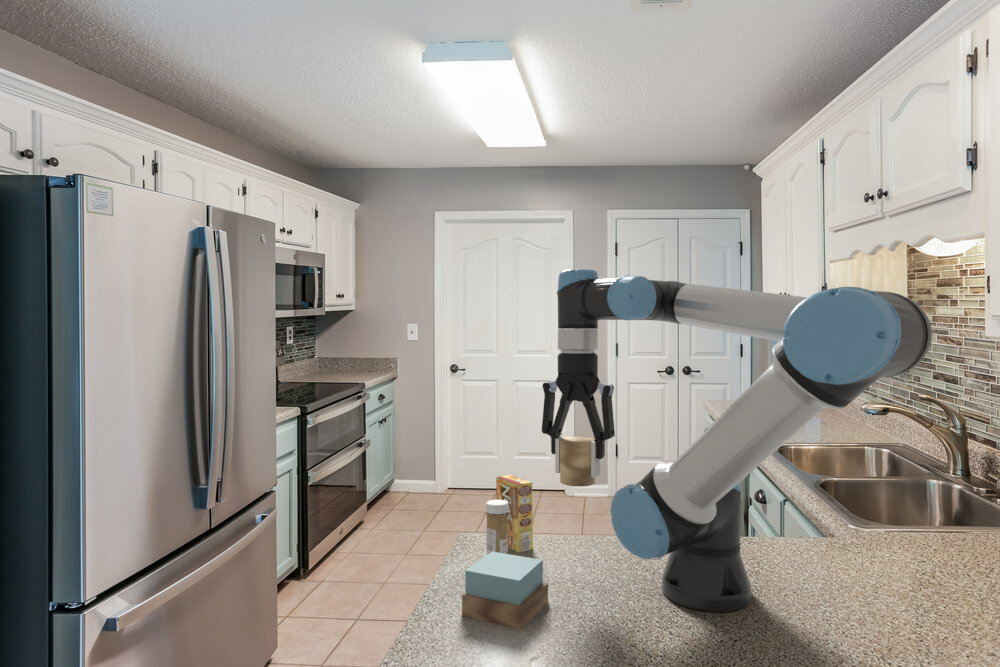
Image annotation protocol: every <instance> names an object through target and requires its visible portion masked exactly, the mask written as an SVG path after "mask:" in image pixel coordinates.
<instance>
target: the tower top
mask: <svg viewBox="0 0 1000 667" xmlns="http://www.w3.org/2000/svg"><path fill="white" fill-rule="evenodd" d="M543 563H544V561H543V559H540V558H533V557H528V556H527V557H526V556H521V555H516V554H515V555H514V554H509V553H508V554H504V553H498V552H491V553H489V554H488V555H487V554H486V555H485V556H484V557H482V558H481V559H479V560H478V561H476V562H475V563H474V564H472V565H471V566H470V567H468V568H467V569H466V570H465V571H464V572H465V592H466V594H468V595H472V596H477V597H482V598H487V599H492V600H496V601H501V602H506V603H511V604H516V605H520V604H521V603H523V602H524V601H525V600H526V599H527V598H528V597H529V596H530V595H531V594H532V593H533V592H534V591H535V590H536V589H537V588H538V587H539V586H540V585H541V584H542V583H543V582H544V578H543V575H544V574H543V573H544V572H543V571H544V570H543V569H544V568H543V565H544V564H543Z"/></svg>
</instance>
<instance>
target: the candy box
mask: <svg viewBox="0 0 1000 667" xmlns="http://www.w3.org/2000/svg"><path fill="white" fill-rule="evenodd" d="M495 483H496V484H495V485H496V488H495V489H496V492H495V493H496V500H505V501H507V502H508V514H507V522H508V524H507V526H508V549H511V550H512V551H515V552H517V553H523V552H526V551H530V550H533V549H534V541H533V540H534V538H533V537H534V534H533V532H534V531H533V528H534V527H533V526H534V525H533V523H534V520H533V516H534V515H533V482H532V481H529V480H527V479H526V480H525V479H524V478H520V477H517V476H515V475H512V474H509V475H502V476H496V477H495Z"/></svg>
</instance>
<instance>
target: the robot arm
mask: <svg viewBox="0 0 1000 667" xmlns="http://www.w3.org/2000/svg"><path fill="white" fill-rule="evenodd" d="M557 280H558V281H557V282H558V283H557V291H556V295H557V349H558V350H559V351H560V352H559V353H558V354H557V377H556V378H555V380H554V381H546V382H543V384H542V390H543V393H544V394H543V395H544V398H543V399H544V400H543V409H542V422H541V423H542V424H541V432H542V434H543V435H544V434H545V435H547V436H549V437H550V442H551V443H550V445H551V449H550V450H551V451H550V452H551V455H555V457H554V461H555V464H554V465H555V470H554V473H556V474H560V439H562V438H566V437H565V436H562V435H563V433H562V431H563V429H564V426H565V422H566V419H567V416H568V413H569V410H570V407H571V404H573V402H575V401H576V402H579V403H581V402H582V406H583V407H584V409H585V412H586V416H587V418H588V421H589V425H590V427H591V431H592V435H593V437H594V438H593V439H594V441H592V442H591V477H594V478H595V479H596V478H597V477H598V476H600V475H601V474H600V473H601V470H600V469H601V460H602V459H604V458H605V455H606V454H605V452H606V450H605V447H606V446H605V444H606V443H605V442H606V441H607V440H610V439H612V438H614V437H615V436H616V435H615V421H614V408H613V394H614V389H615V387H614V385H613V384H608V383H603V382H601V381H600V379H599V377H598V373H599V372H598V369H599V364H598V363H599V361H598V358H599V357H598V356H599V355H598V354H597V353H595V351H597V350H598V348H599V347H598V346H599V344H598V341H599V340H598V339H599V338H598V336H599V335H598V328H599V327H598V325H599V321H602V320H603V321H604V320H605V321H658V322H659V321H660V322H667V323H671V324H677V325H684V326H685V325H686V326H690V327H697V328H701V329H702V328H703V329H707V330H713V331H720V332H724V333H730V334H735V335H741V336H746V337H752V338H758V339H762V340H768V341H774V342H777V343H775V345H774V346H773V347H772V351H771V352H772V358H773V362H772V363H771V365H770V366H768V368H767V369H766V370H765V371H764V372H763V373H762V374H761V375H760V376H759V377H757V379H755V381H754V382H753V383H752V384H751V385H750V386H749V387H748V388H746V389H745V391H744V392H743V393H741V395H739V397H737V398H736V399H735V401H733V402H732V403H731V404H730V406H729V407H727V409H725V410H724V411H723V412H722V413H721V414H720V415H719V416H718V417H717V418H716V419H715V420H714V421H713V422H712V424H710V425H709V427H707V428H706V429H705V430H704V431H703V432H702V433H701V434H700V435H699V436H698V437H697V438H696V439H695V440H694V441H693V442H692V443H691V444H690V445H689V446H688V447H687V448H686V449H685V450H684V451H682V453H681V454H680V455H679V456H678V457H677V458H676V459H675V460H671V459H664V460H662V461H661V460H660V461H659V463H657V464H656V465H655V466H654V467H653V468H652V469H651V470H650V471H649V472H648V473H647V474H645V476H644V477H643V478H642V479H641V480H639V481H638V482H636V483H632V484H631V483H630V484H626V485H624V486H623V487H621V488H619V489H618V490H617V491H616V492H615V493H614V495H613V496H612V499H611V504H610V516H611V525H612V528H613V531H614V533H615V536H616V537H617V540H619V542H620V544H621V545H622V546H623V547H624V548H625V550H627V552H629V553H630V554H631V555H632V556H635V557H638V558H640V559H643V560H652V559H660V558H661V559H662V558H663V557H665V556H666V555H668V554H669V555H668V558H667V561H666V564H665V566H664V570H663V573H662V577H661V590H662V593H663V594H664V595H665V597H666V598H668V599H669V600H670V601H672V602H674V603H676V604H678V605H681V606H683V607H686V608H690V609H694V610H699V611H703V612H704V611H705V612H712V613H713V612H714V613H726V612H736V611H740V610H743V609H744V608H747V607H748V606H750V605H751V602H752V585H751V583H750V580H749V575H748V573H747V570H746V567H745V564H744V561H743V558H742V555H741V494H742V489H741V483H740V482H742V481H743V480H745V478H746V477H748V475H750V474H751V473H752V472H753V471H754V470H755V469H756V468H758V467H760V465H761V464H763V462H765V461H766V460H767V459H768V458H769V457H770V456H771V455H773V454H774V453H775V452H776V451H777V450H778V449H780V447H782V446H783V445H784V444H785V443H786V442H788V441H789V440H790V439H791V438H793V437H794V435H796V434H797V433H798V432H799V431H800V430H801V429H802V428H804V427H805V426H806V425H807V424H808V423H809V422H810V421H811V420H813V419H814V418H815V417H816V416H817V415H818V414H819V413H821V412H822V411H823V410H824V409H834V410H835V409H836V410H842V409H844V408H846V407H847V406H849V405H850V403H852V402H853V401H854V400H855V399H857V398H858V397H859V396H860V395H861V394H863V392H865V391H866V390H867V389H868V388H869V387H871V386H872V385H873V384H874V383H875V382H876V381H878V380H879V379H884V378H891V377H896V376H899V375H903V374H904V373H906V372H909V371H911V370H913V368H915V367H917V365H919V364H920V363H921V362H922V361H923V359H924V358H925V357H926V355H927V354H928V352H929V350H930V347H931V345H932V338H933V330H932V328H933V327H932V325H931V322H930V319H929V317H928V315H927V313H926V312H925V311H924V309H923V308H922V307H921V306H920V305H919V304H918V303H917V302H915V301H914V300H912V299H911V298H909V297H907V296H905V295H902V294H899V293H895V292H891V291H880V290H879V291H878V290H877V291H876V290H869V289H866V288H863V287H857V286H842V287H841V286H839V287H835V288H828V289H824V290H820V291H818V292H815V293H813V294H811V295H809V296H800V295H790V294H789V295H788V294H781V293H774V292H773V293H772V292H764V291H756V290H748V289H738V288H737V289H736V288H729V287H722V286H721V287H720V286H712V285H704V284H694V283H684V282H679V281H675V280H658V279H657V280H656V279H655V280H652V279H648V278H647V277H645V276H642V275H628V274H627V275H623V276H618V277H608V278H599V274H598V272H597V271H596V270H594V269H589V268H588V269H587V268H577V269H573V268H571V269H564V270H562V271H561V272H560V273H559V274H558V279H557ZM557 388H558V390H559V392H560V393H561V397H560V400H559V406H558V409H557V412H556V415H555V414H554V413H555V405H556V404H555V403H556V392H557ZM598 390H599V394H600V395H601V398H600V399H601V413H602V421H601V419H600V415H599V411H598V409H597V406H596V402H597V401H596V399H595V396H594V394H595V393H596V392H597V391H598ZM554 416H555V418H554ZM602 422H603V425H602Z"/></svg>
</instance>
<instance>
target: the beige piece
mask: <svg viewBox="0 0 1000 667" xmlns="http://www.w3.org/2000/svg"><path fill="white" fill-rule="evenodd" d="M594 440H595V438H592V437H586V436H585V437H584V436H567V437H565V438H562V439H560V473H559V476H560V478H559V482H560V484H562V485H565V486H569V487H590V486H593V485H595V483H596V477H595V478H594V477H591V442H592V441H594Z"/></svg>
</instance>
